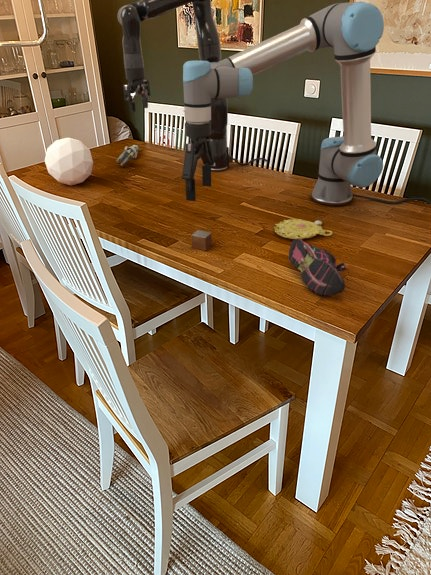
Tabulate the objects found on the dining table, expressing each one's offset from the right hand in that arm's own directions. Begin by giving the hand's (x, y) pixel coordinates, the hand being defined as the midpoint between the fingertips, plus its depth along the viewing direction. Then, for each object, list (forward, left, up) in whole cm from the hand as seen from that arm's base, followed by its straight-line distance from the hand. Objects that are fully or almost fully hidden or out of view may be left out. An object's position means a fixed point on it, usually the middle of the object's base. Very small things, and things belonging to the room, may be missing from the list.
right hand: (199, 192), depth 138 cm
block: (0, +7, -15) cm, 17 cm away
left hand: (+20, -62, +14) cm, 67 cm away
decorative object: (-33, +2, -15) cm, 36 cm away
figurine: (+30, -94, -15) cm, 100 cm away
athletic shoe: (-31, +31, -15) cm, 46 cm away
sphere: (+52, -61, -15) cm, 82 cm away
